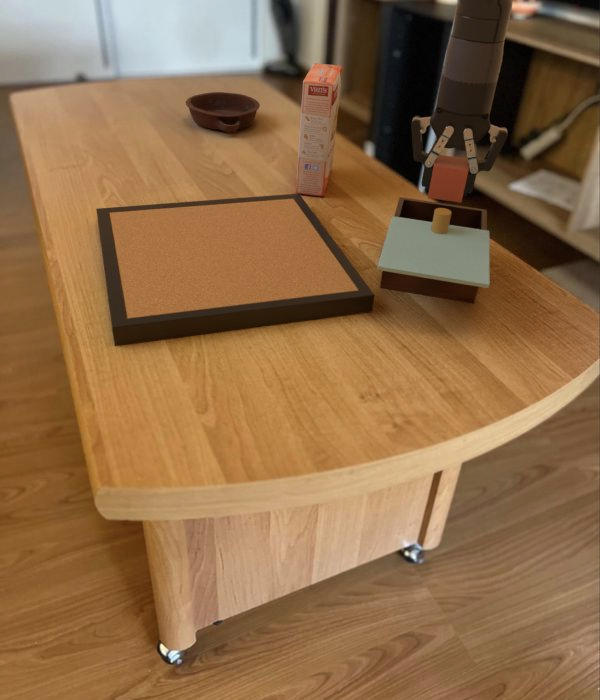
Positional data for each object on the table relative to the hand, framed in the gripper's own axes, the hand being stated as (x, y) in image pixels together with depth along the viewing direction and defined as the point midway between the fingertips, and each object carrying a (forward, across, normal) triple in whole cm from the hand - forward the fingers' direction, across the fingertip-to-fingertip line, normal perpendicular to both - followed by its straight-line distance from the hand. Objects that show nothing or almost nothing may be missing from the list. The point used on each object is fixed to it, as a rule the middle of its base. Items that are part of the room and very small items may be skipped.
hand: (446, 191), depth 96 cm
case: (+12, 0, -4) cm, 12 cm away
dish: (+12, -54, +53) cm, 76 cm away
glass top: (+3, 0, -13) cm, 14 cm away
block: (0, 0, 0) cm, 0 cm away
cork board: (+12, -32, -12) cm, 36 cm away
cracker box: (+12, -25, +24) cm, 37 cm away
